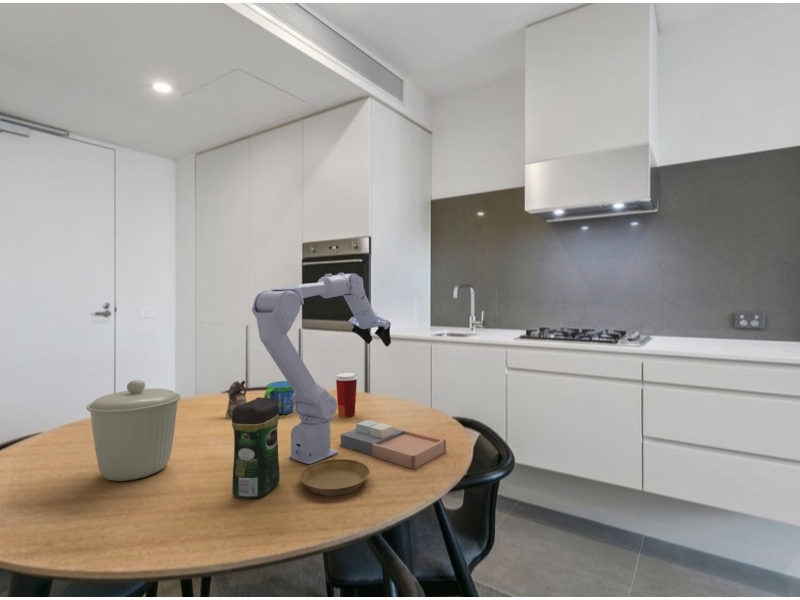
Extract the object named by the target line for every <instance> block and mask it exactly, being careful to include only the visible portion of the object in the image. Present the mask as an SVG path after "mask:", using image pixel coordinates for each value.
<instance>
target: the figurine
mask: <svg viewBox="0 0 800 600" xmlns="http://www.w3.org/2000/svg"><path fill="white" fill-rule="evenodd" d="M245 384H246V380H242V381H241V382H239V380H235V381H234V382H232V383H231V384H230V386H229V389H228V391H227V392H226V393H228V404H227V409H226V413H225V417H226V418H227V417H229V418H228V419H230V418H232V410H233V409H234V408H236V407H237V406H239V405H242V404H245V403H247V402H248V401H247V397H246V394H247V388H246V387H245ZM242 390H243V391H244V392H242Z"/></svg>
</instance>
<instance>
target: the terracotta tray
mask: <svg viewBox="0 0 800 600" xmlns="http://www.w3.org/2000/svg"><path fill="white" fill-rule="evenodd" d="M446 452H447V440H446V439H443V438H439V437H435V436H432V435H427V434H423V433H419V432H415V431H410V430H407V429H406V430H404V434H403V435H401V436H398V437H396V438H393V439H391V440H389V441H386V442H384V443H382V444H379V445H378V444H372V455H371V456H372V457H374V458H376V459H380V460H382V461H386V462H389V463H393V464H395V465H399V466H401V467H405V468H409V469H411V470H416V469H417V468H420V467H421V466H422V465H424V464H426V463H428V462H429V461H432V460H434V459H435V458H437V457H439V456H440V455H442V454H444V453H446Z"/></svg>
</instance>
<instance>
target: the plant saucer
mask: <svg viewBox="0 0 800 600" xmlns="http://www.w3.org/2000/svg"><path fill="white" fill-rule="evenodd" d="M370 474H371V470H370V468H369V466H368V465H367V464H365V463H364V462H361V461H359V460H354V459H345V458H338V459H337V458H336V459H335V458H334V459H328V460H320V461H317V462H315V463H312V464H309V465H308V466H307V467H305V468H304V469H303V470H302V471H301V472H300V474H299V478H300V481H301V482H302V484H303V485H304V486H305V488H307V489H308V490H310V491H311V492H313V493H315V494H316V495H319V496H326V497H336V496H343V495H347V494H349V493H352V492H354V491H356V490H357V489H359V488H360V487H361V486H362V485H363V484H364V483H365V482H366V480H367V479H368V477H369V476H370Z"/></svg>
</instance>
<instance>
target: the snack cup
mask: <svg viewBox="0 0 800 600" xmlns="http://www.w3.org/2000/svg"><path fill="white" fill-rule="evenodd" d="M293 394H294V391H293V389H292V388H291V386H290V385H289V383H288V381H287V380H280V381H278V380H277V381H273V382H269V383H267V385H266V390H265V392H264V397H263V398H273V399H274V400H275V401H276V402H277V403H278V412H279V414H283V415H287V414H290V413H293V412H294V411H295V404H294V402H293V400H292V396H293Z"/></svg>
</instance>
